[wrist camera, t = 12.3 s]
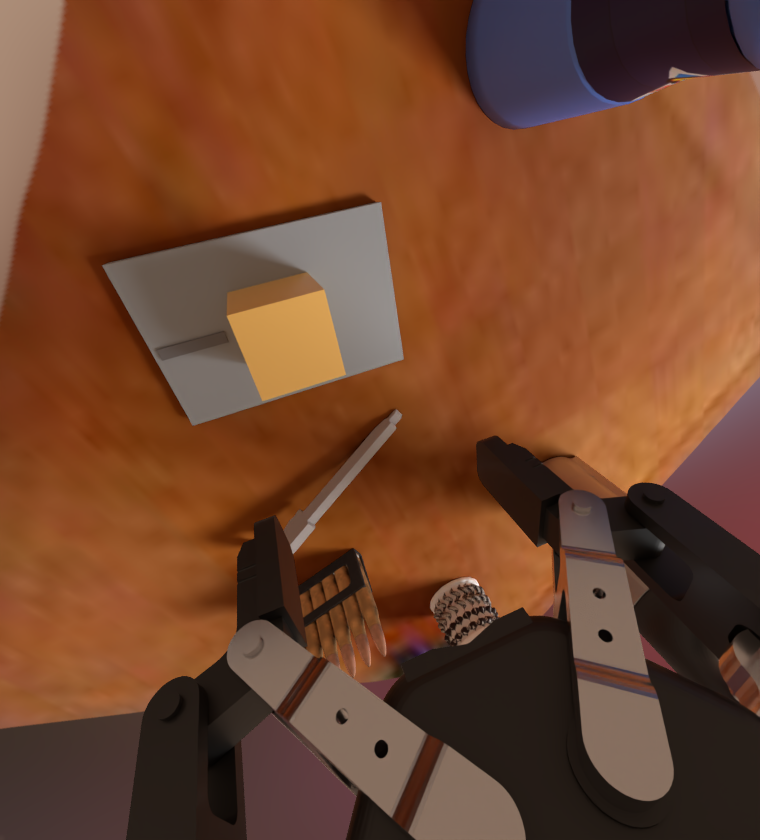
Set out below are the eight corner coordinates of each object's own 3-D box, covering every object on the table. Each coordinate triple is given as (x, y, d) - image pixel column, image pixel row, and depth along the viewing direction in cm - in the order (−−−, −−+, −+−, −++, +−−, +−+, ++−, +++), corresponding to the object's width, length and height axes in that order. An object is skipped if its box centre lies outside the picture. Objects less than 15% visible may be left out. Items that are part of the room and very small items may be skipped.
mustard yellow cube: (306, 271, 26) (324, 289, 21) (326, 345, 29) (345, 374, 24) (227, 292, 25) (226, 315, 20) (256, 366, 28) (262, 401, 23)
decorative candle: (489, 587, 59) (622, 788, 39) (444, 621, 60) (552, 836, 40) (465, 566, 54) (605, 788, 34) (416, 604, 55) (525, 843, 35)
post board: (376, 201, 26) (406, 203, 22) (399, 355, 33) (426, 380, 28) (106, 263, 23) (76, 279, 18) (193, 419, 30) (187, 459, 25)
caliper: (260, 544, 39) (265, 596, 34) (252, 540, 38) (255, 593, 33) (400, 412, 36) (428, 448, 31) (394, 406, 36) (421, 441, 31)
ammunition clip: (290, 604, 45) (306, 715, 35) (280, 598, 44) (294, 712, 34) (361, 554, 45) (397, 653, 35) (353, 547, 44) (388, 647, 34)
